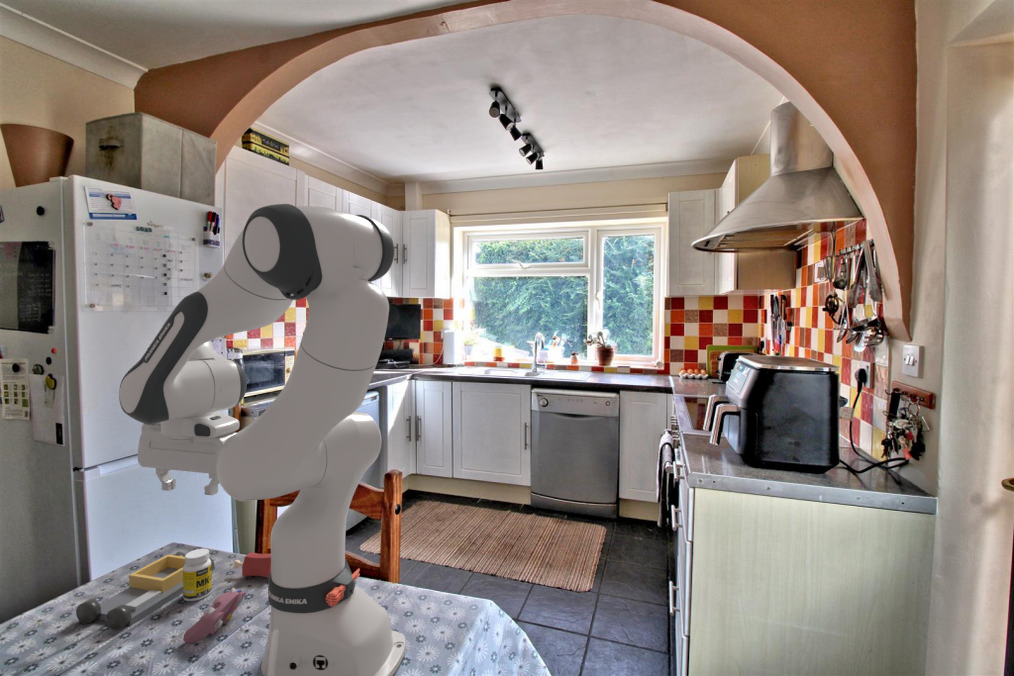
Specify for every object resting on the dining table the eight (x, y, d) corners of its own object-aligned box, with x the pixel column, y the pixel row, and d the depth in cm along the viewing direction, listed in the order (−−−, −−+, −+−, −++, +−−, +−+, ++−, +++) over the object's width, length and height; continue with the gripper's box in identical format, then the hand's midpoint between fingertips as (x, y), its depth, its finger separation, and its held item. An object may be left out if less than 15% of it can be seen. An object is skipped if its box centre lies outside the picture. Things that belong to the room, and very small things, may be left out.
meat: (224, 579, 98) (228, 553, 99) (239, 573, 103) (242, 549, 104) (281, 581, 97) (284, 555, 98) (292, 575, 102) (295, 551, 103)
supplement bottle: (197, 603, 91) (196, 560, 90) (177, 600, 92) (175, 558, 91) (217, 589, 95) (216, 548, 95) (197, 586, 96) (196, 546, 96)
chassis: (214, 573, 101) (214, 557, 101) (122, 631, 82) (121, 611, 82) (174, 567, 103) (173, 551, 103) (76, 622, 85) (75, 602, 85)
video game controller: (201, 655, 79) (219, 620, 78) (178, 642, 79) (195, 607, 79) (238, 618, 89) (254, 586, 88) (217, 606, 89) (233, 574, 88)
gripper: (127, 421, 90) (128, 493, 90) (222, 429, 86) (223, 503, 87) (156, 414, 96) (158, 481, 97) (247, 421, 92) (247, 490, 93)
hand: (189, 491), depth 92 cm, fingers open, 8 cm apart
